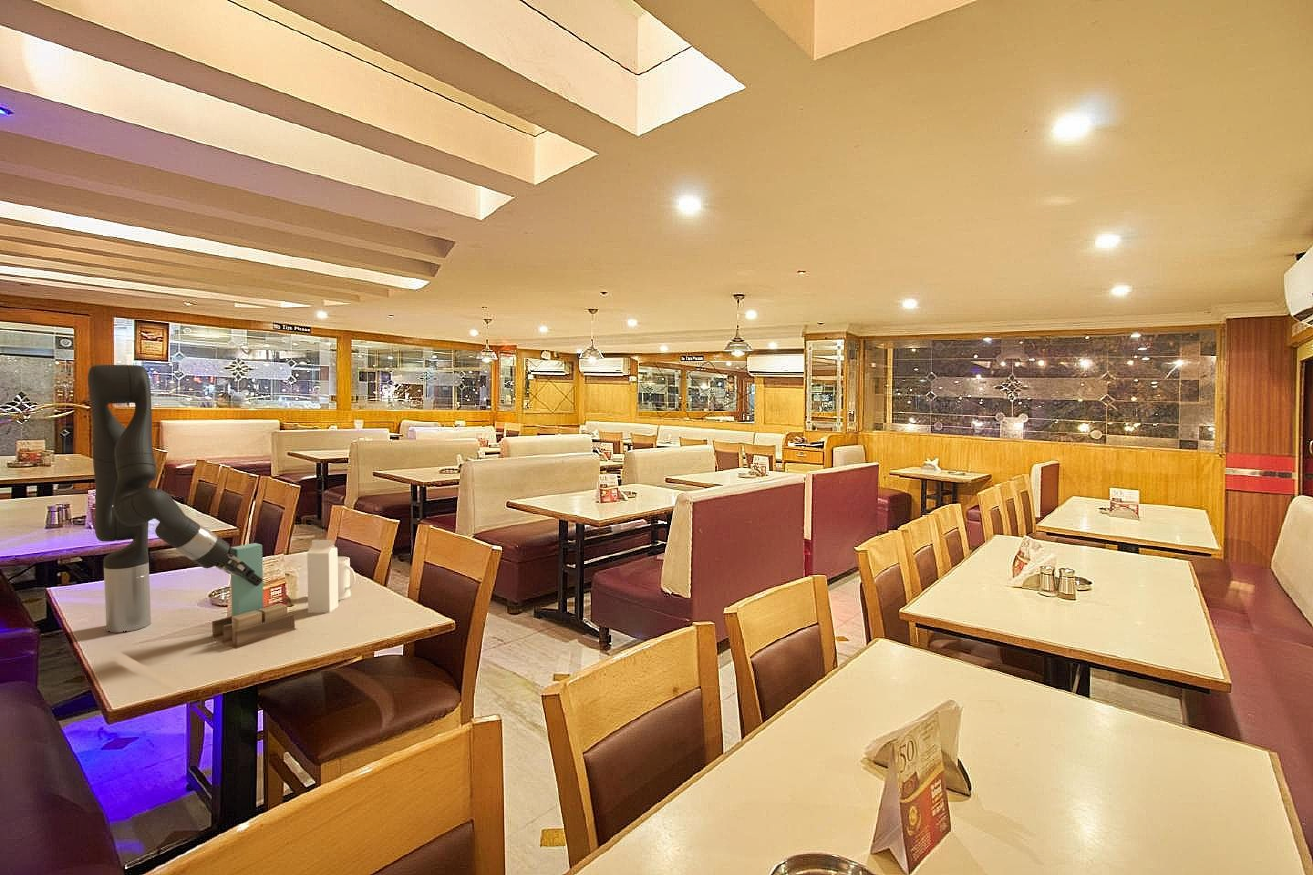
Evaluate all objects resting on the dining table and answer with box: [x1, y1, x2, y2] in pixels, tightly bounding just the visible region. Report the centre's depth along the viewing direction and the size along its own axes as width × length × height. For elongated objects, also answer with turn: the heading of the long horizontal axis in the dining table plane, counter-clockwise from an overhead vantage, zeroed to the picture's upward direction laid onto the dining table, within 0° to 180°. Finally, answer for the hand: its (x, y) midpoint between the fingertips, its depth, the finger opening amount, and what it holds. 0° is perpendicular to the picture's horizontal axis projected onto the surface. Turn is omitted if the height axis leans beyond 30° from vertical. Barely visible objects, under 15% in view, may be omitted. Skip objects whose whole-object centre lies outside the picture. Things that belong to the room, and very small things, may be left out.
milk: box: [306, 539, 339, 614], centre depth 179 cm, size 6×6×22 cm
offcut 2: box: [259, 603, 288, 623], centre depth 162 cm, size 3×6×6 cm, turn 150°
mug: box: [338, 556, 357, 602], centre depth 193 cm, size 12×8×12 cm
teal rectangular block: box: [229, 542, 264, 617], centre depth 161 cm, size 4×6×22 cm, turn 150°
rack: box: [210, 605, 298, 650], centre depth 161 cm, size 13×15×6 cm
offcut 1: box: [232, 610, 262, 643], centre depth 156 cm, size 3×6×6 cm, turn 150°
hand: (255, 581), depth 163 cm, fingers closed on teal rectangular block, 3 cm apart
